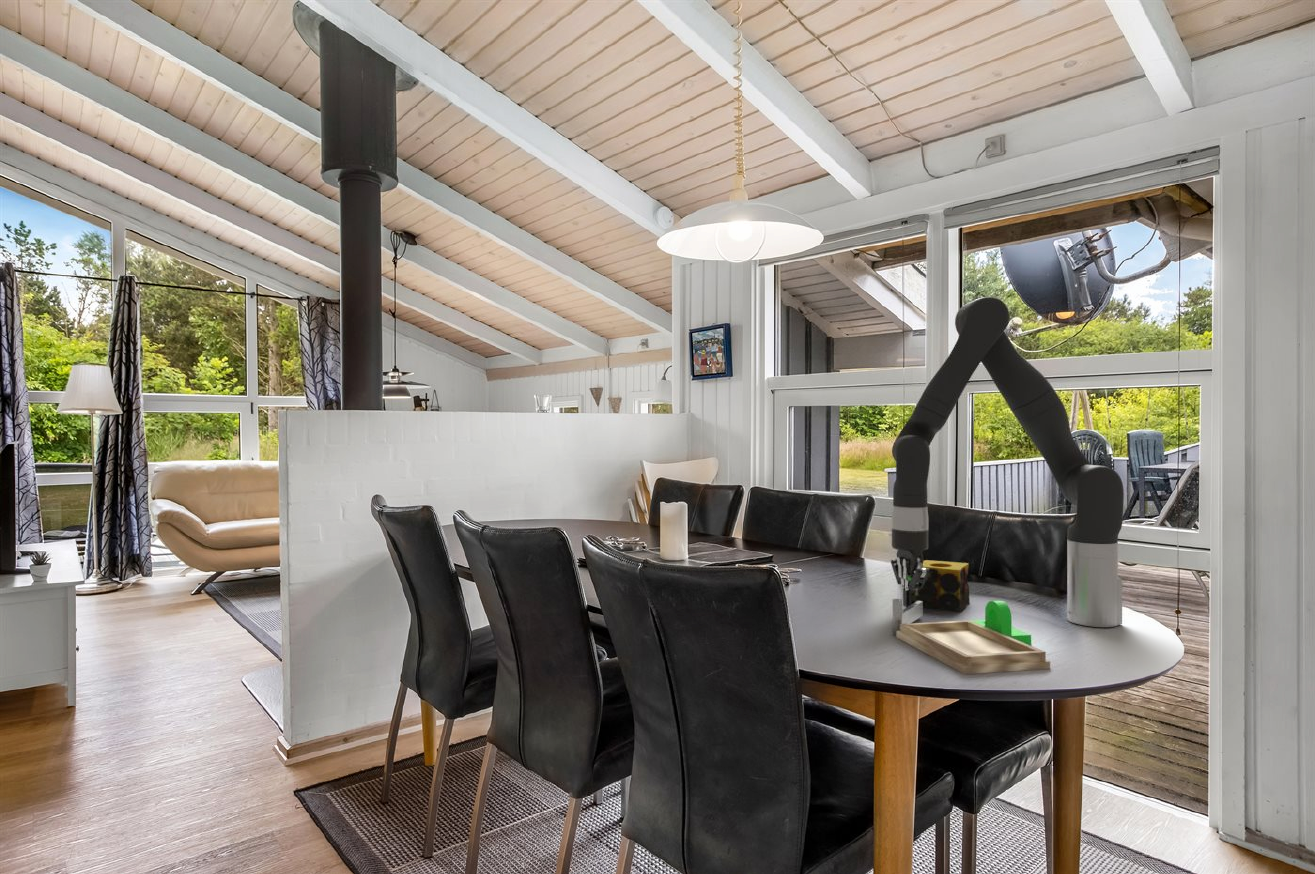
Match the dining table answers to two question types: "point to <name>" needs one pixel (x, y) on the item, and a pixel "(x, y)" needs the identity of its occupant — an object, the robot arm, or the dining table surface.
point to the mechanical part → (1002, 621)
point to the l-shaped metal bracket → (905, 613)
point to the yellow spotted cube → (945, 586)
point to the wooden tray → (972, 647)
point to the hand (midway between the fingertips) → (909, 606)
